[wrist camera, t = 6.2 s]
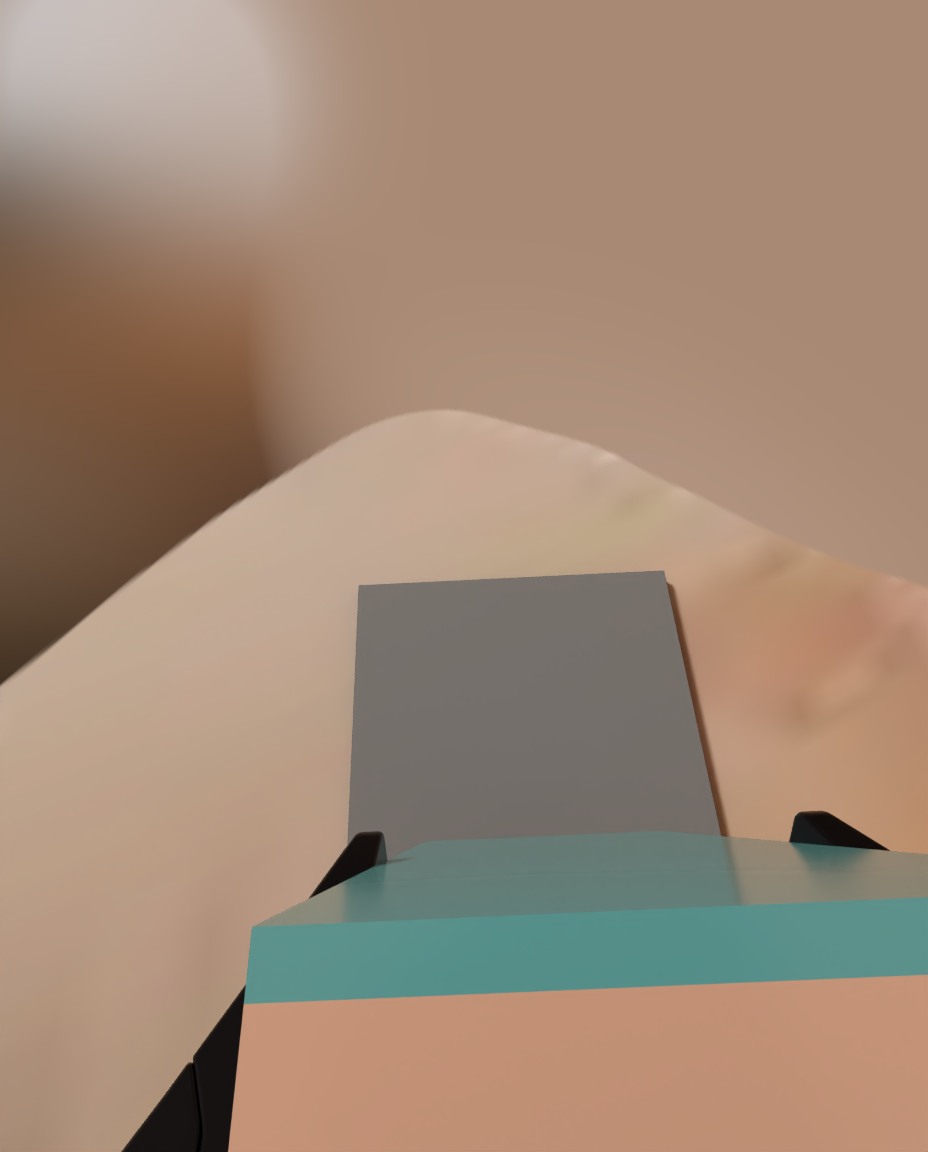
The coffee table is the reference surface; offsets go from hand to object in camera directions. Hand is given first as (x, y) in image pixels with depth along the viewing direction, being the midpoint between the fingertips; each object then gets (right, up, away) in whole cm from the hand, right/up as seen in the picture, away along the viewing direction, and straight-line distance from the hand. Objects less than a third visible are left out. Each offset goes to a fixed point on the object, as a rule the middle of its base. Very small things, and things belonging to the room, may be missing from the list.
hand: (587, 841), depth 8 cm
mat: (0, -2, +10) cm, 10 cm away
